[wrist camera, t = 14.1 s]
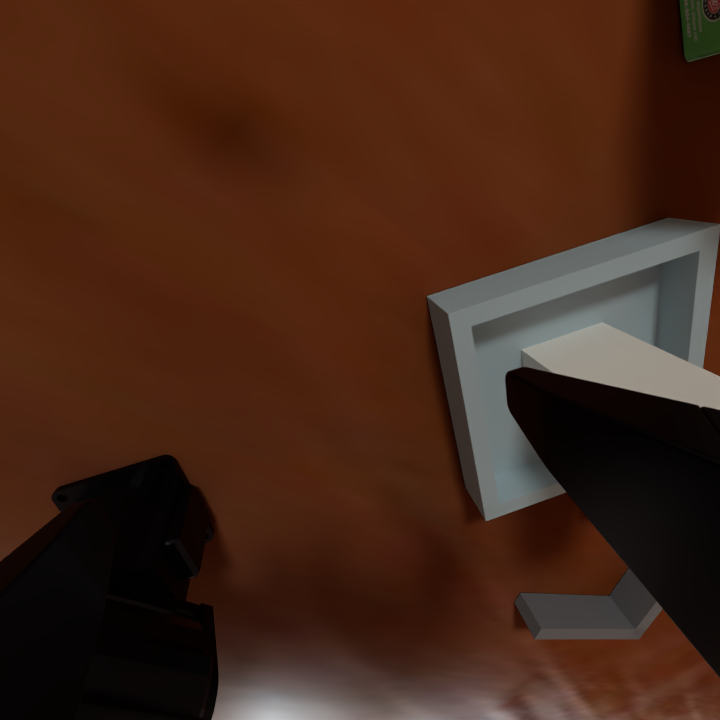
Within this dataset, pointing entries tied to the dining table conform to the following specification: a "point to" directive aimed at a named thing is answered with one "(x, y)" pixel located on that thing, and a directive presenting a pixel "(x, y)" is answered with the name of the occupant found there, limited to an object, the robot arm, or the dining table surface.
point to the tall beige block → (624, 365)
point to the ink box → (700, 28)
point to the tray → (557, 318)
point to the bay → (591, 613)
